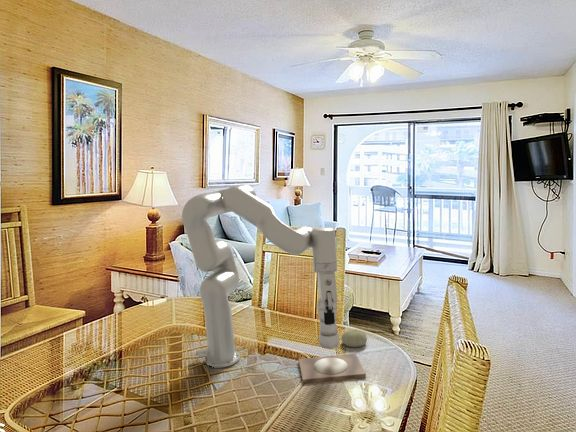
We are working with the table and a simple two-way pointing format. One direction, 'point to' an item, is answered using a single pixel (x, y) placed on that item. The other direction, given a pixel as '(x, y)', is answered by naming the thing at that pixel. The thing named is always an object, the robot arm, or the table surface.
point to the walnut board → (331, 368)
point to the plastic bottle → (327, 328)
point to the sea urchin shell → (354, 338)
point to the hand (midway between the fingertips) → (327, 319)
